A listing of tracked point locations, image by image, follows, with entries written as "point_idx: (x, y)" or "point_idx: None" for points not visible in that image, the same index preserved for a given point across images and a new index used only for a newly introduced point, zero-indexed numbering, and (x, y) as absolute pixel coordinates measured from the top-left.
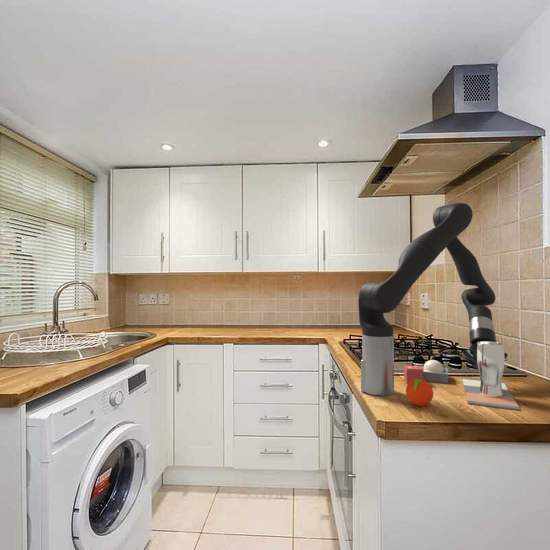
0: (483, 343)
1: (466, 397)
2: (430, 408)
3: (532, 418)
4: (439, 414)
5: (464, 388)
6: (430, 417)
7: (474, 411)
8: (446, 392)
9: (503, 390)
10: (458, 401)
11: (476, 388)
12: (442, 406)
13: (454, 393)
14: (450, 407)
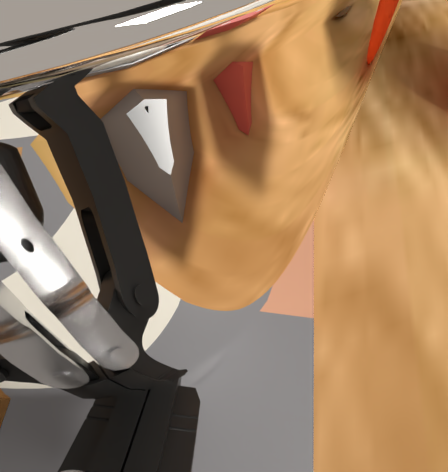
0: (25, 188)
1: (312, 233)
2: (443, 79)
3: None
4: (406, 41)
5: (310, 459)
6: (426, 19)
7: None
8: (418, 311)
9: (28, 465)
10: (350, 175)
11: (227, 453)
12: (407, 105)
13: (373, 304)
14: (378, 102)
